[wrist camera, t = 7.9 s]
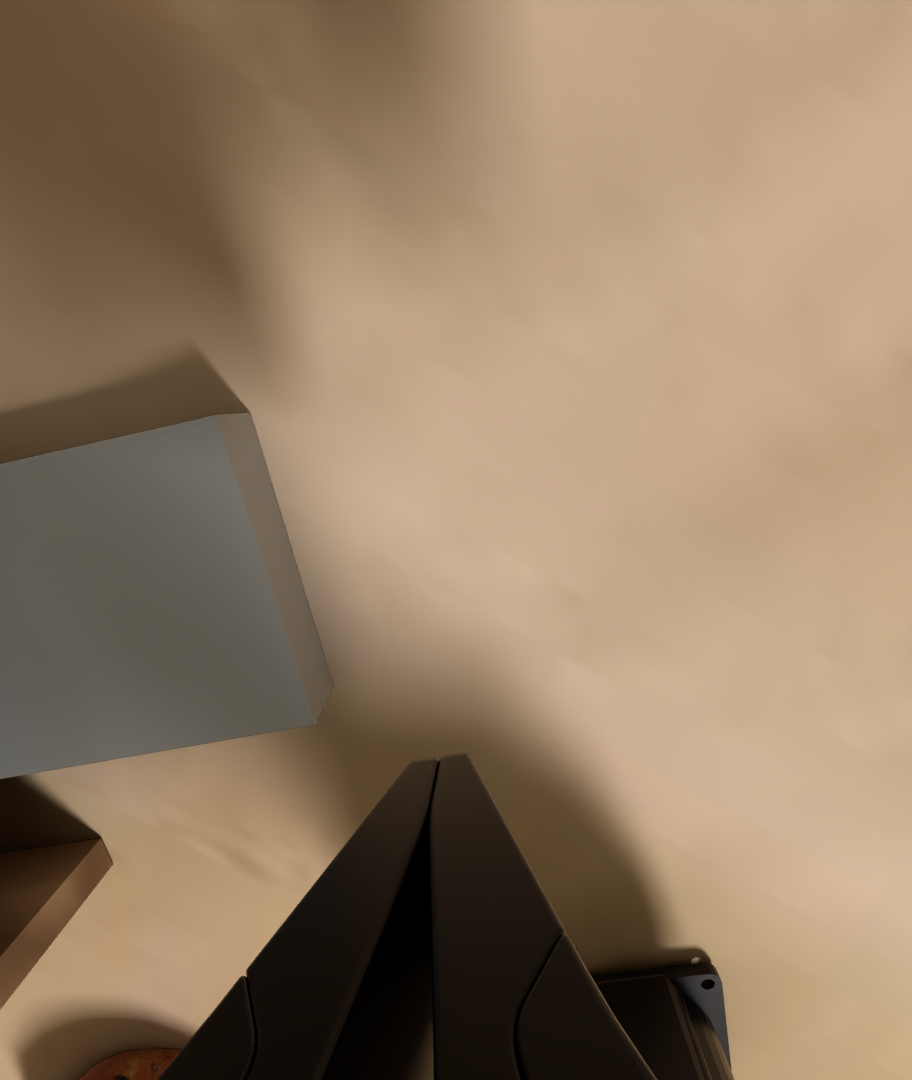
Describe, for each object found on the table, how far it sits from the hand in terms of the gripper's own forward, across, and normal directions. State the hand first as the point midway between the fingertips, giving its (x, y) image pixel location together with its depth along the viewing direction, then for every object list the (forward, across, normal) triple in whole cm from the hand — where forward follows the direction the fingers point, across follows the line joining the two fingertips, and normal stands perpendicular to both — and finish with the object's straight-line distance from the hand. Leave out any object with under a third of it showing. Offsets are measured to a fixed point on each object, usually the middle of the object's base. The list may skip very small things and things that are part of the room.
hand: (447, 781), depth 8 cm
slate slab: (+9, +13, -2) cm, 16 cm away
